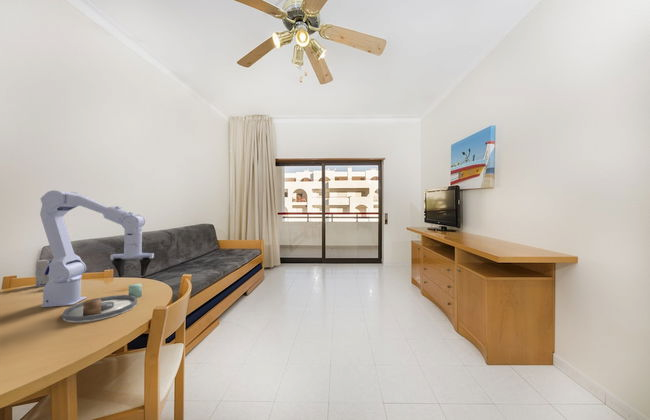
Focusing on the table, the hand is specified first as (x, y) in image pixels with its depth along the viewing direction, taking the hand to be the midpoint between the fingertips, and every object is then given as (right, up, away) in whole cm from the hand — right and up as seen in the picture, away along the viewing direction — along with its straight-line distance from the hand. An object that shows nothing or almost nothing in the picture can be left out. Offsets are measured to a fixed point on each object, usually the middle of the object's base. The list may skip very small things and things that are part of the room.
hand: (132, 275), depth 96 cm
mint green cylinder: (0, -10, +2) cm, 10 cm away
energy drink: (-53, -8, +13) cm, 55 cm away
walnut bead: (0, -9, -17) cm, 19 cm away
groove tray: (-2, -9, -11) cm, 15 cm away
